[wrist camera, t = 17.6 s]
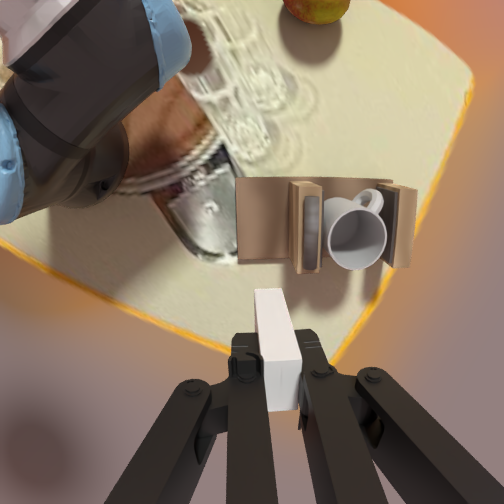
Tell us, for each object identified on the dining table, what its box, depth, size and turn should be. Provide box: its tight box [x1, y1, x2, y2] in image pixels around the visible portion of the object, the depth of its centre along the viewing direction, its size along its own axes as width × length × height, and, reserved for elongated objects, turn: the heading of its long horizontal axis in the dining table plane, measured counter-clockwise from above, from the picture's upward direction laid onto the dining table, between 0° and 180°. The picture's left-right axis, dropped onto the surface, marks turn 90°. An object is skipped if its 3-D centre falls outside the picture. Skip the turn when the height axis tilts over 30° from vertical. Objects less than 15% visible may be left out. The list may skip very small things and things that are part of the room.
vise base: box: [236, 177, 418, 268], centre depth 39 cm, size 22×11×8 cm, turn 91°
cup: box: [323, 189, 387, 270], centre depth 38 cm, size 7×10×9 cm
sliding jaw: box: [289, 181, 324, 274], centre depth 38 cm, size 3×10×9 cm, turn 1°
